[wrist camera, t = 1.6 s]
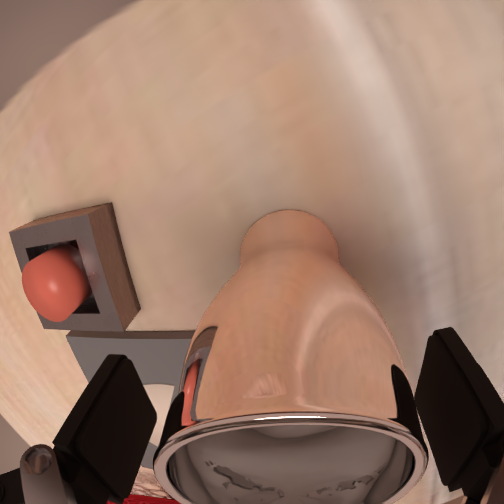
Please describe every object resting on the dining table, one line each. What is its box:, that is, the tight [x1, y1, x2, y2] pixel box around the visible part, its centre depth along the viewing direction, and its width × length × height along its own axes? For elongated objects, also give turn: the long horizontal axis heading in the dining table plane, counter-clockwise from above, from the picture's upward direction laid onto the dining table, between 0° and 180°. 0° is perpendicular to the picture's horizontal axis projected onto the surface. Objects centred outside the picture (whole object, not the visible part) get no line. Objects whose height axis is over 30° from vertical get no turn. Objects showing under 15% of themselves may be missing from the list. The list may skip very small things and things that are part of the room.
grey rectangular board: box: [66, 330, 195, 469], centre depth 26 cm, size 20×16×1 cm
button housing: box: [9, 203, 141, 332], centre depth 20 cm, size 8×8×3 cm
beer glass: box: [153, 210, 429, 504], centre depth 13 cm, size 7×7×15 cm
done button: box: [22, 244, 92, 322], centre depth 18 cm, size 4×4×3 cm
